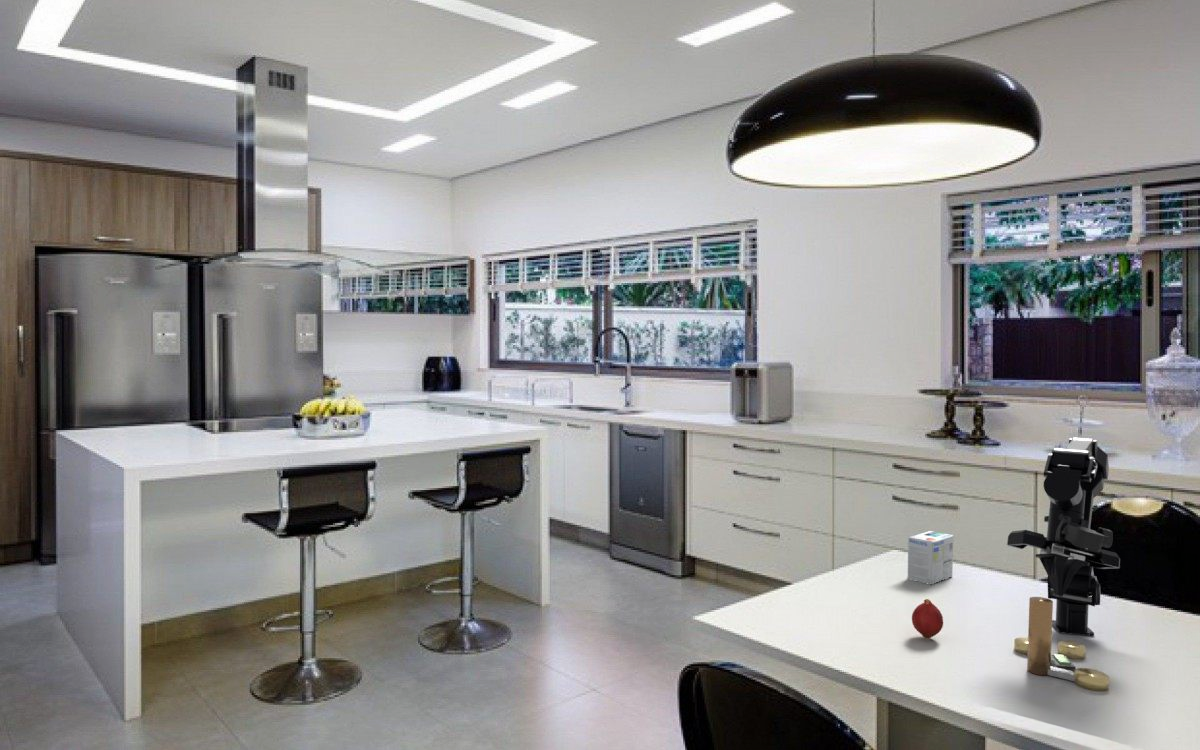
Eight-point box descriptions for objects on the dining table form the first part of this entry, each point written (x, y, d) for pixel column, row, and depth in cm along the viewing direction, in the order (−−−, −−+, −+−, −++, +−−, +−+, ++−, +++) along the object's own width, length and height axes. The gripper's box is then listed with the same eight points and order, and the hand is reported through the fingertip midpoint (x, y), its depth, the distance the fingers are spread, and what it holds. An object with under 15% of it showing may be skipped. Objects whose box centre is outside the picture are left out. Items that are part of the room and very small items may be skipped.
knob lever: (1110, 683, 138) (1113, 609, 138) (1106, 693, 134) (1109, 617, 134) (1030, 664, 146) (1032, 594, 145) (1024, 673, 142) (1026, 601, 141)
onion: (917, 630, 166) (918, 592, 166) (946, 637, 162) (947, 598, 162) (907, 638, 162) (908, 599, 161) (937, 646, 158) (938, 605, 157)
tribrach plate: (986, 647, 157) (987, 632, 157) (1101, 657, 153) (1101, 641, 153) (1016, 692, 138) (1016, 674, 138) (1148, 704, 133) (1149, 686, 133)
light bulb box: (927, 571, 208) (929, 529, 208) (953, 577, 203) (954, 534, 203) (906, 579, 201) (907, 536, 201) (932, 585, 196) (933, 541, 196)
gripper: (1045, 496, 147) (1036, 583, 143) (1144, 522, 147) (1138, 609, 143) (1010, 502, 157) (1001, 583, 153) (1102, 526, 158) (1095, 607, 154)
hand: (1058, 595), depth 151 cm, fingers closed
